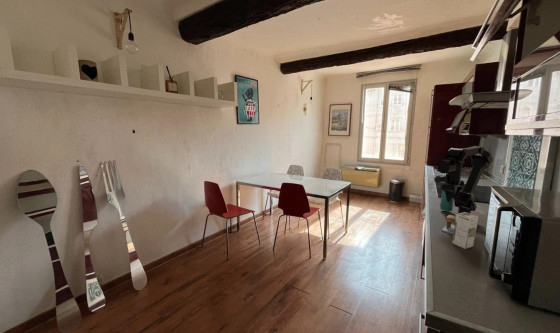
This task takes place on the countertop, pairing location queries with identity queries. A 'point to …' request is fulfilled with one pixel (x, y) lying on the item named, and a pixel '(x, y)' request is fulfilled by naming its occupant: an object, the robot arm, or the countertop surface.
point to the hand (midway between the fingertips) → (450, 200)
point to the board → (450, 230)
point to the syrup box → (465, 230)
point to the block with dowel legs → (450, 220)
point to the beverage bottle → (446, 203)
